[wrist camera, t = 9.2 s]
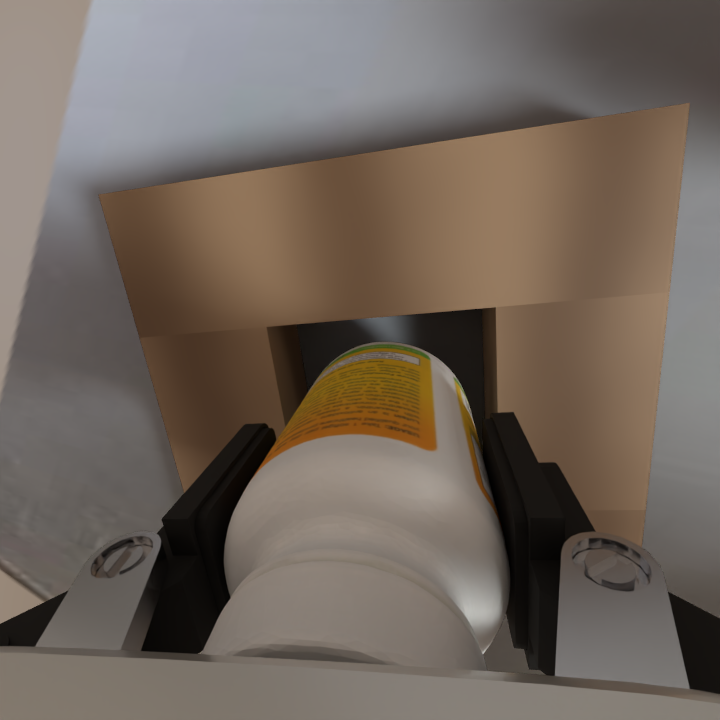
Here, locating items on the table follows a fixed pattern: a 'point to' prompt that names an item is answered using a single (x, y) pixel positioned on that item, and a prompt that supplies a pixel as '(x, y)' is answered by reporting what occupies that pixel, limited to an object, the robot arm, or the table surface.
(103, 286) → the table surface
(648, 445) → the bore block
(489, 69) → the table surface
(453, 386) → the supplement bottle
